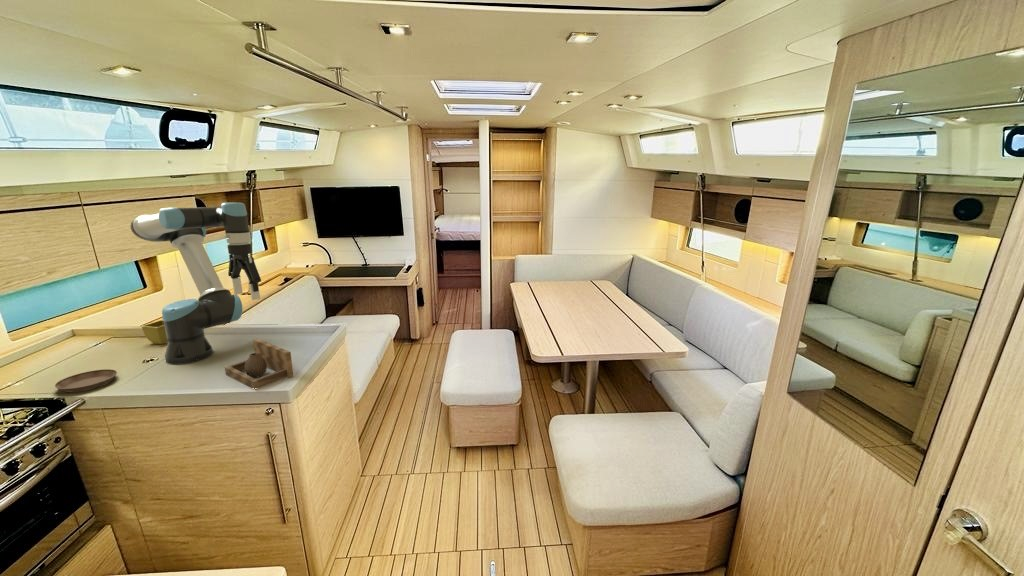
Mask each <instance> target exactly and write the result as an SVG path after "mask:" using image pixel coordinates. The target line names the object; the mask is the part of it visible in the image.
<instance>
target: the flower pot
mask: <svg viewBox="0 0 1024 576" xmlns="http://www.w3.org/2000/svg"><path fill="white" fill-rule="evenodd" d="M140 327H141V329H142V332H143V334H144V336H145V337H146V339H147V340H148V341H149V342H150V343H151V344H154V345H155V344H156V345H165V344H168V340H167V336H166V331H165V326H164V322H163V320H162V319H161V320H156V321H154V322H150V323H146V324H142V325H141V326H140Z"/></svg>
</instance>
